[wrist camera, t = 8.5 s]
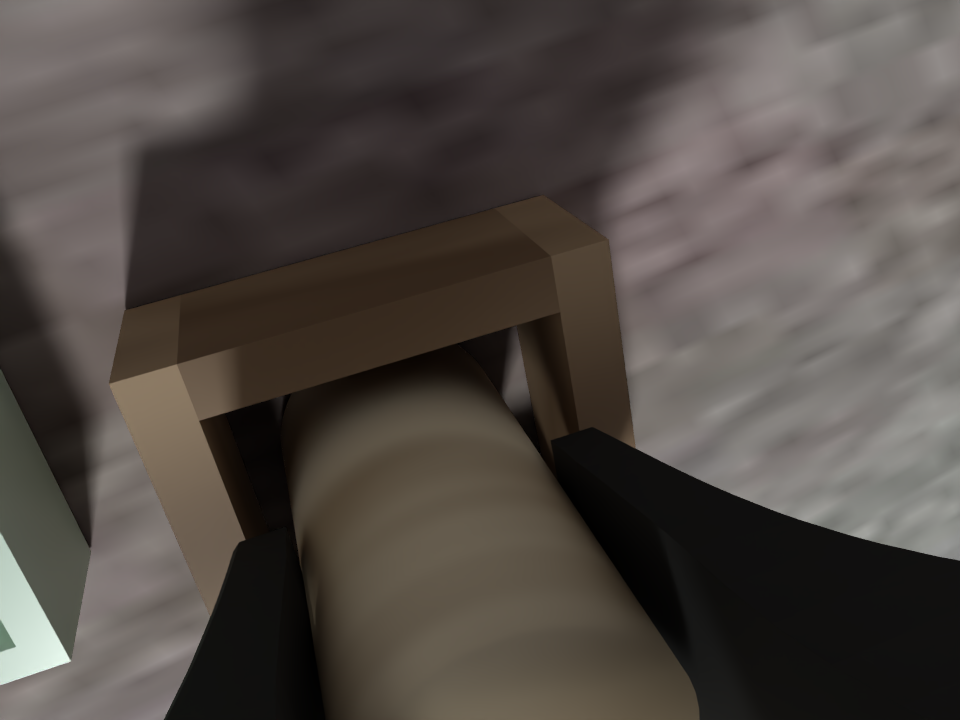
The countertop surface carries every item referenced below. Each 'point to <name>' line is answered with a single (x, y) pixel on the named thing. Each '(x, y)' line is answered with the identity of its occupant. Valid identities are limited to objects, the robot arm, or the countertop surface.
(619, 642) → the dowel
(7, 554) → the tray
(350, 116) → the countertop surface
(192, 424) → the socket block
